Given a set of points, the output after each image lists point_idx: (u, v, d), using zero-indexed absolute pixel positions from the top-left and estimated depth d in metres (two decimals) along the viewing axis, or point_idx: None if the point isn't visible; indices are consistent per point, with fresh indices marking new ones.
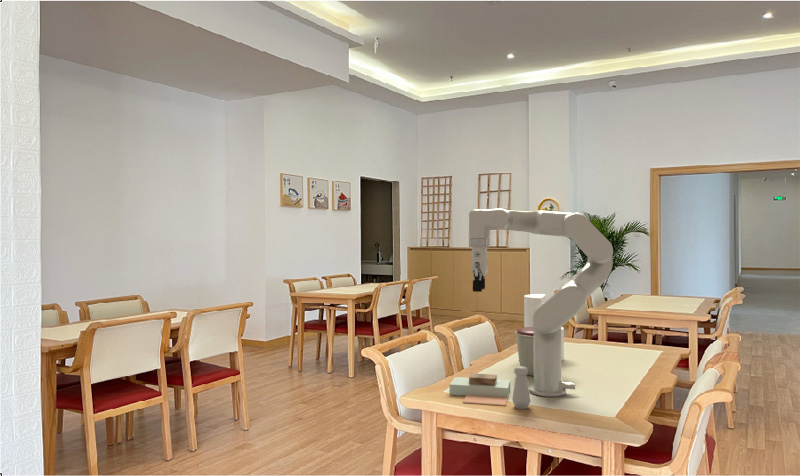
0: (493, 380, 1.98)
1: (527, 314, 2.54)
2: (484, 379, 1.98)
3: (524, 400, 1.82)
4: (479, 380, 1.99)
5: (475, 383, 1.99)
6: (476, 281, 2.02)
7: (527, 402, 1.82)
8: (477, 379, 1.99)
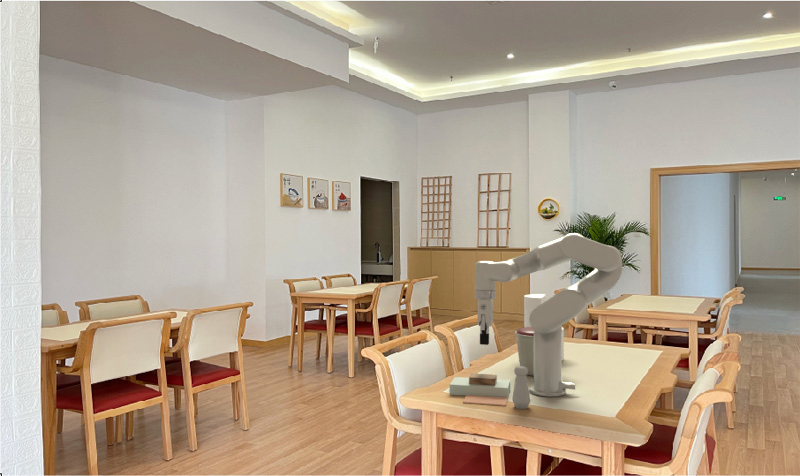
0: (493, 380, 1.98)
1: (527, 314, 2.54)
2: (484, 379, 1.98)
3: (524, 400, 1.82)
4: (479, 380, 1.99)
5: (475, 383, 1.99)
6: (483, 335, 2.09)
7: (527, 402, 1.82)
8: (477, 379, 1.99)
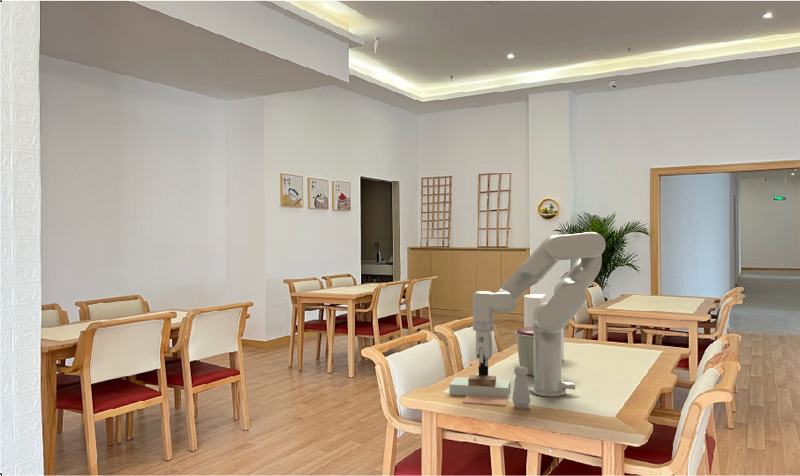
0: (493, 381, 1.96)
1: (527, 314, 2.54)
2: (483, 380, 1.97)
3: (524, 400, 1.82)
4: (478, 382, 1.97)
5: (474, 384, 1.97)
6: (482, 367, 2.03)
7: (527, 402, 1.82)
8: (476, 380, 1.97)
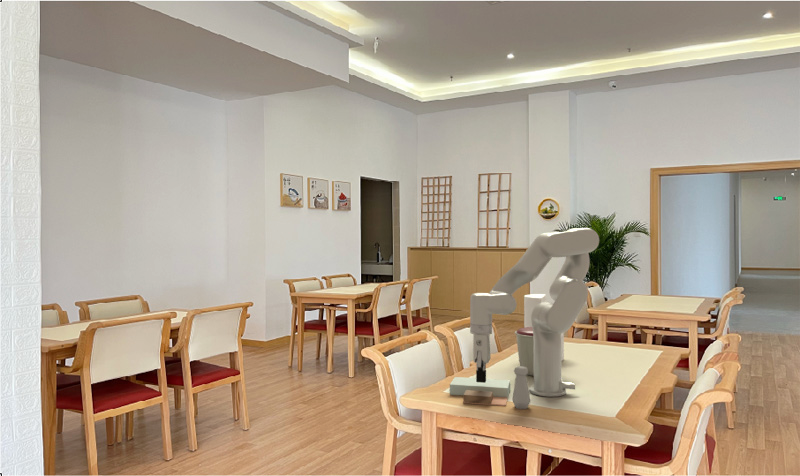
0: None
1: (527, 314, 2.54)
2: None
3: (524, 400, 1.82)
4: None
5: None
6: (480, 372, 1.96)
7: (527, 402, 1.82)
8: None
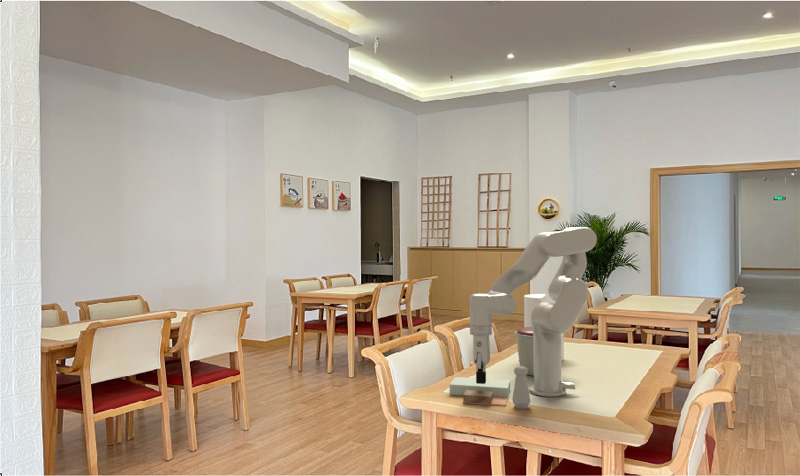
0: None
1: (527, 314, 2.54)
2: None
3: (524, 400, 1.82)
4: None
5: None
6: (479, 373, 1.95)
7: (527, 402, 1.82)
8: None
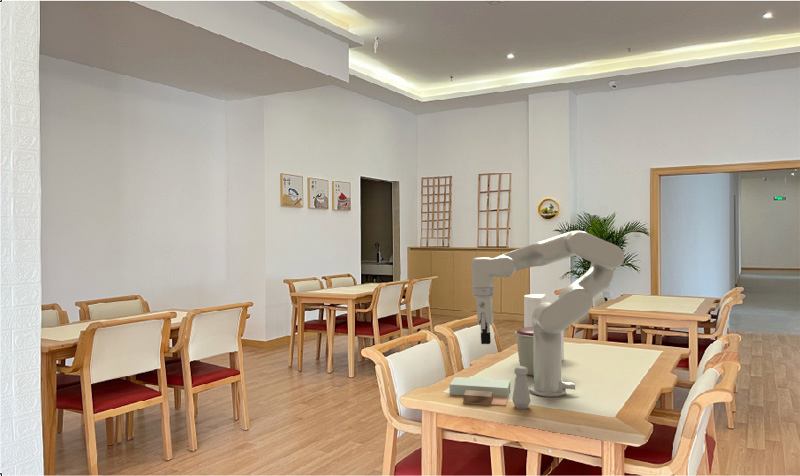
0: None
1: (527, 314, 2.54)
2: None
3: (524, 400, 1.82)
4: None
5: None
6: (484, 334, 2.01)
7: (527, 402, 1.82)
8: None
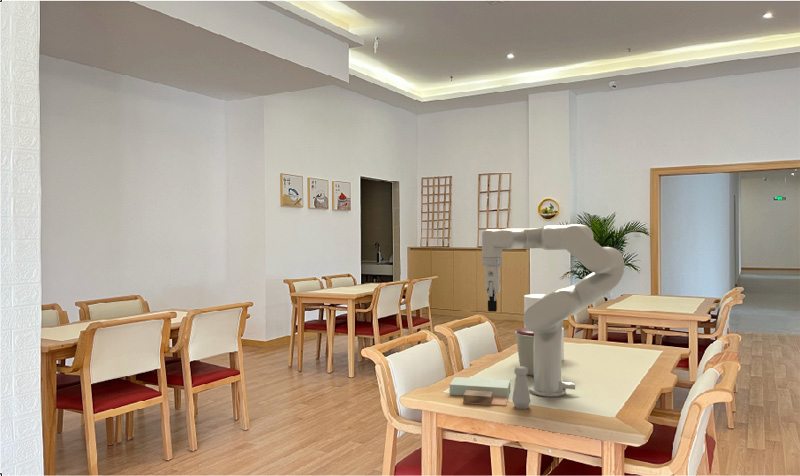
0: None
1: None
2: None
3: (524, 400, 1.82)
4: None
5: None
6: (491, 301, 2.13)
7: (527, 402, 1.82)
8: None
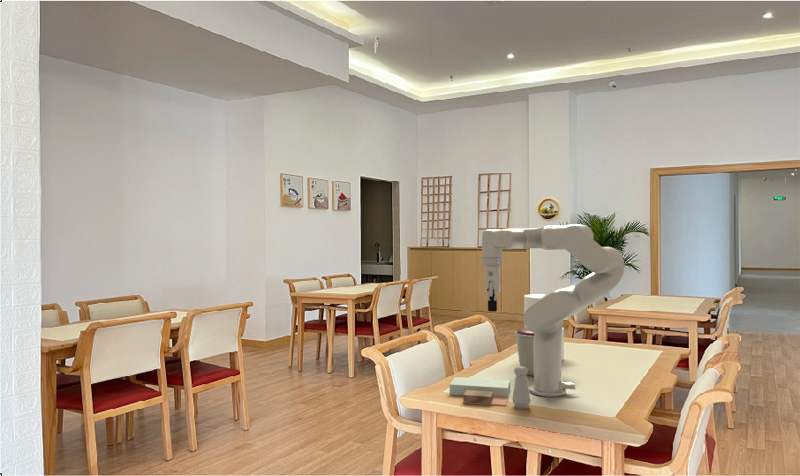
0: None
1: None
2: None
3: (524, 400, 1.82)
4: None
5: None
6: (491, 301, 2.13)
7: (527, 402, 1.82)
8: None
